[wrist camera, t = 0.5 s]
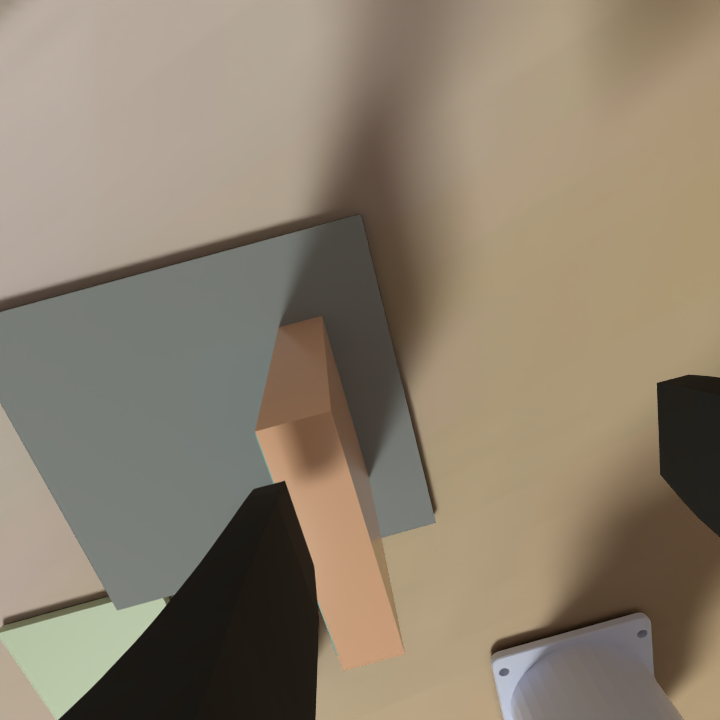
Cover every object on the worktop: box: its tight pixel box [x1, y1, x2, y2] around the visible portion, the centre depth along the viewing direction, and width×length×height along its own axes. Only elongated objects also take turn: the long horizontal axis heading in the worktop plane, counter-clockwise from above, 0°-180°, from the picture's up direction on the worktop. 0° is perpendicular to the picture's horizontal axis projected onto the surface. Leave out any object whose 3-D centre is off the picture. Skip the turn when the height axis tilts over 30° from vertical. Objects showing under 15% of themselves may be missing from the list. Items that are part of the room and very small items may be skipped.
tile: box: [255, 316, 405, 671], centre depth 15 cm, size 7×2×8 cm, turn 14°
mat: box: [0, 214, 436, 611], centre depth 19 cm, size 13×14×1 cm
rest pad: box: [0, 597, 170, 720], centre depth 22 cm, size 8×7×1 cm
